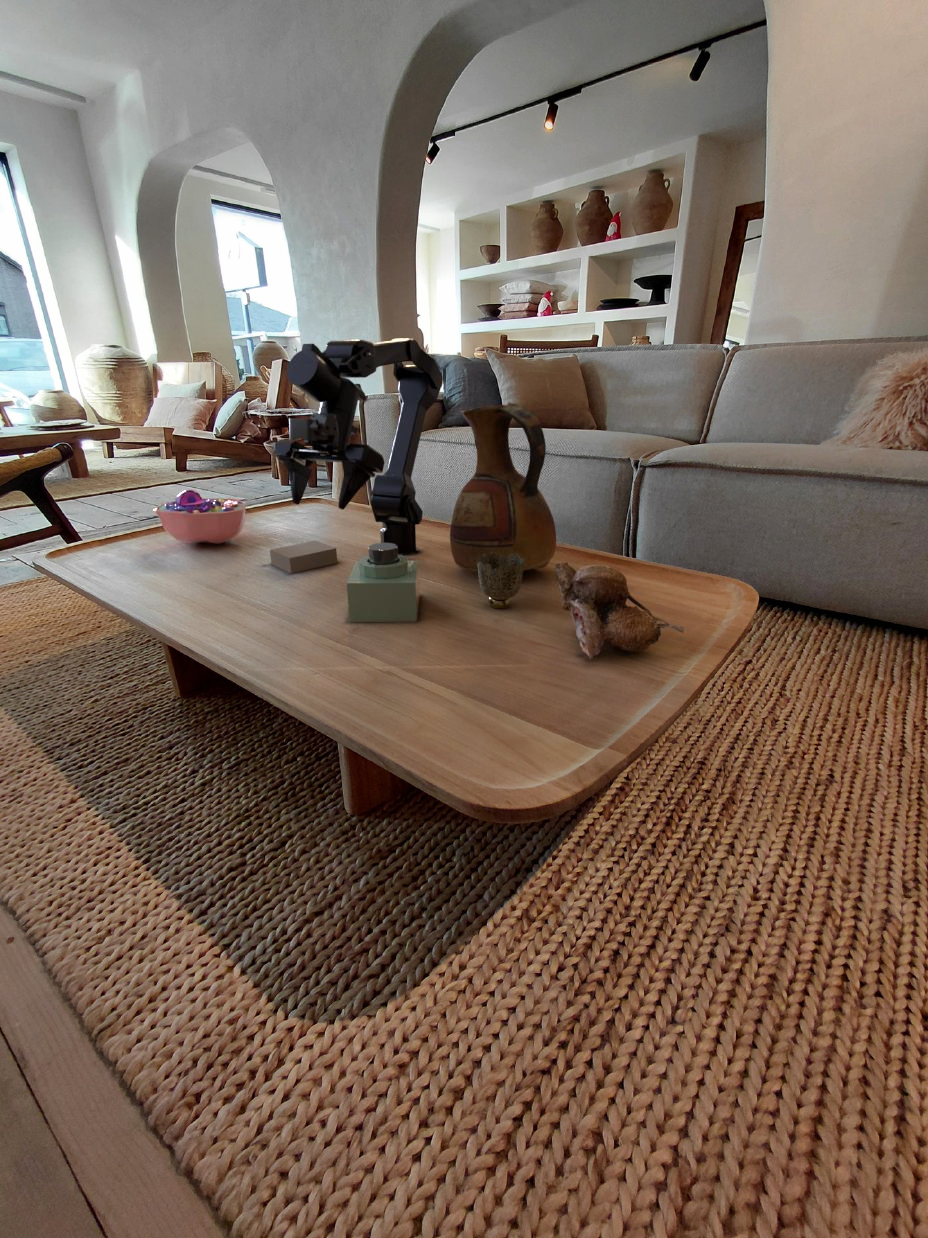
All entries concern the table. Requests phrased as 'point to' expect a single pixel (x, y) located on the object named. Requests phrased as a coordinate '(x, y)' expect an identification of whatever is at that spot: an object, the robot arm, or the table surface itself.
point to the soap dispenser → (383, 591)
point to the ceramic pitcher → (503, 494)
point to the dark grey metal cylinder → (383, 553)
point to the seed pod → (606, 609)
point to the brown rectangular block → (303, 556)
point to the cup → (500, 577)
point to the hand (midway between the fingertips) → (317, 506)
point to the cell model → (202, 518)
